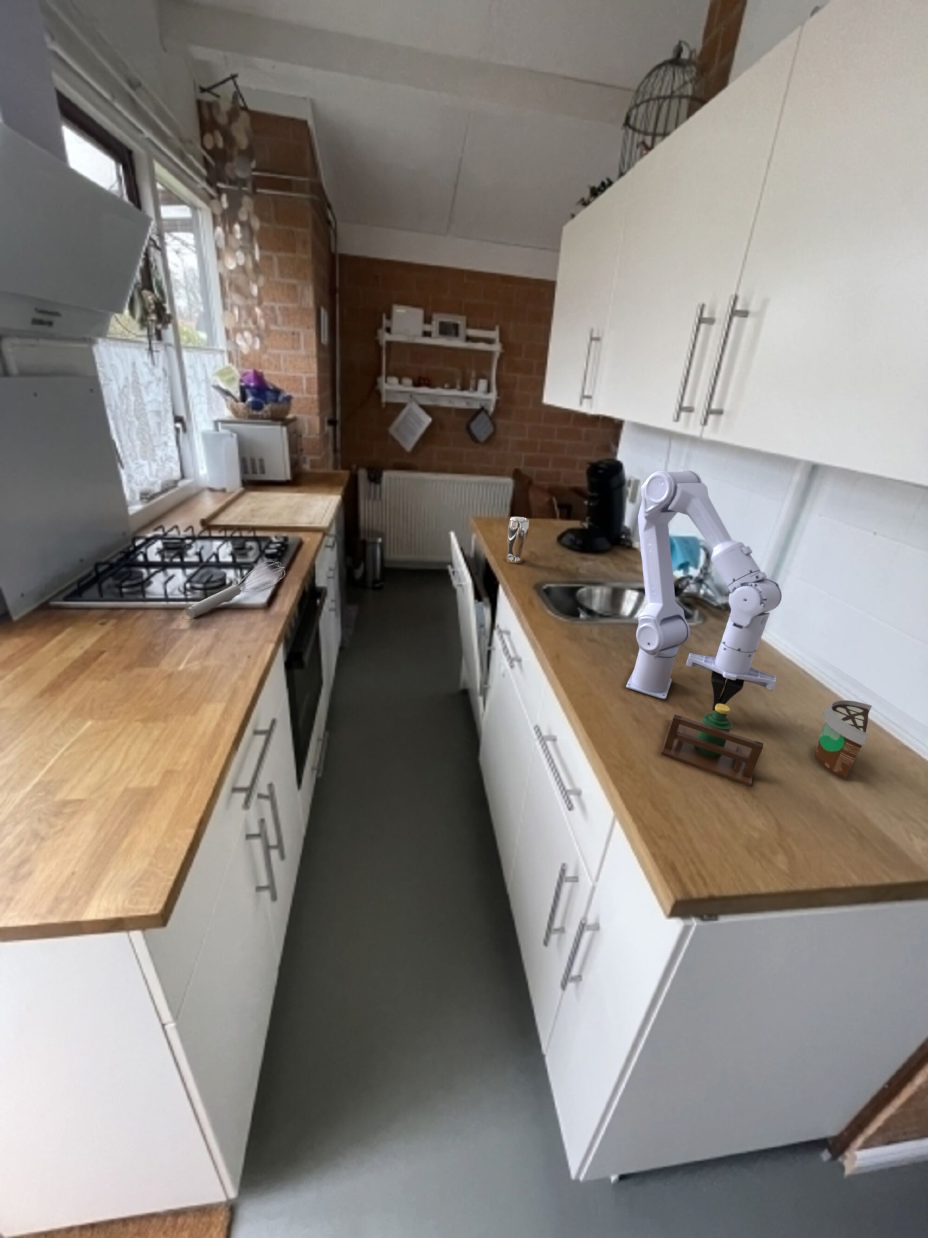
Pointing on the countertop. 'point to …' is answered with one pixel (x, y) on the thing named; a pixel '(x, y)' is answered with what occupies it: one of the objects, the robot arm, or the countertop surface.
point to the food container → (842, 736)
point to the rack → (734, 755)
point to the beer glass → (516, 538)
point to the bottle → (716, 721)
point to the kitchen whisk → (223, 596)
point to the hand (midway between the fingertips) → (716, 708)
